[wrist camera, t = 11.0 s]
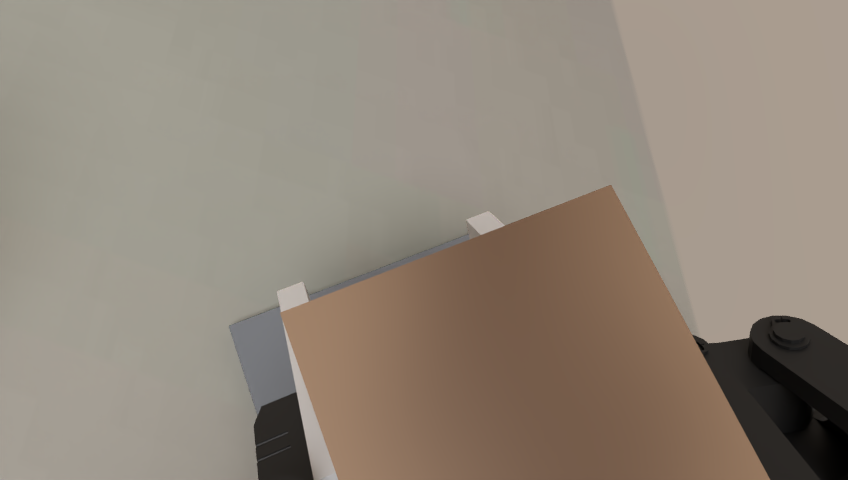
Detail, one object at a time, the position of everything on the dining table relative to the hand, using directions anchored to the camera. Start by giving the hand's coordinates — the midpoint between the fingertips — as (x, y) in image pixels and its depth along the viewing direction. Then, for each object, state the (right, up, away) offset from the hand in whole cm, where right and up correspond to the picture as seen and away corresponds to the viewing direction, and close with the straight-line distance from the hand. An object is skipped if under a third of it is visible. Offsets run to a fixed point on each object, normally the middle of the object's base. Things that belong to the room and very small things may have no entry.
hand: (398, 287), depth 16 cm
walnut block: (+1, -5, +3) cm, 6 cm away
